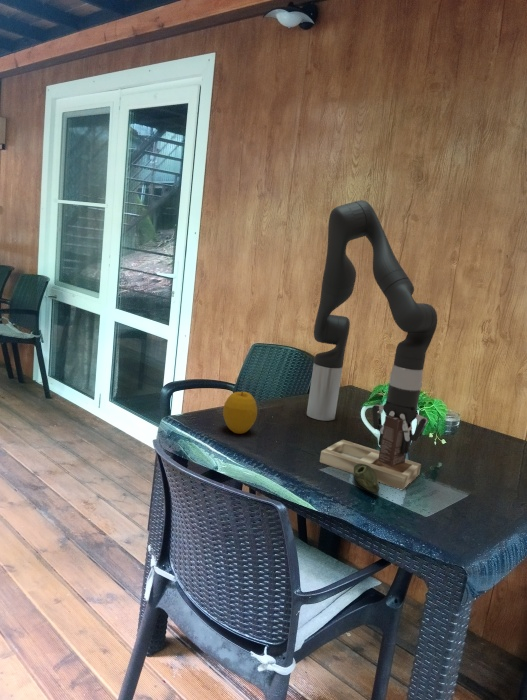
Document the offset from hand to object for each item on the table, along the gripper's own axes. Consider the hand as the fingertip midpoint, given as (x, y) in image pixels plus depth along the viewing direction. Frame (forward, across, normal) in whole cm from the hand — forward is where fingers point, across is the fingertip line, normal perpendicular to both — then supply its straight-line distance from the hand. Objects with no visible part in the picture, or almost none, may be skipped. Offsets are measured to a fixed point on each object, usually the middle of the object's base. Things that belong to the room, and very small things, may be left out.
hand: (393, 450), depth 142 cm
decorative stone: (+7, -2, -11) cm, 13 cm away
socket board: (+7, -5, 0) cm, 8 cm away
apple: (+7, -43, -4) cm, 44 cm away
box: (+3, 0, 0) cm, 3 cm away
